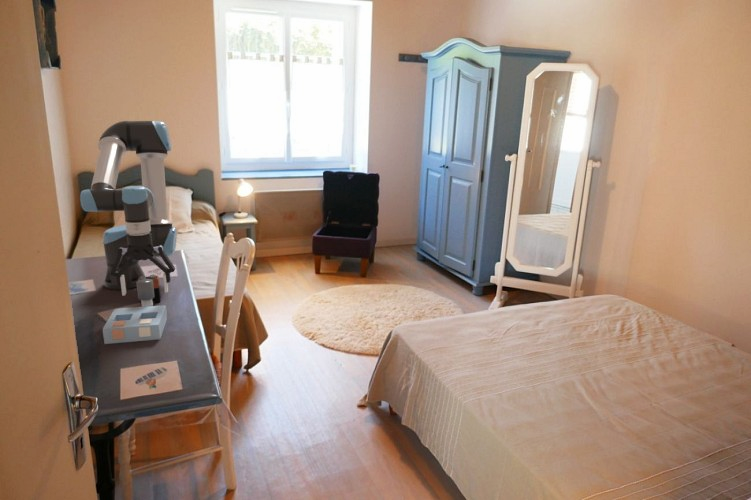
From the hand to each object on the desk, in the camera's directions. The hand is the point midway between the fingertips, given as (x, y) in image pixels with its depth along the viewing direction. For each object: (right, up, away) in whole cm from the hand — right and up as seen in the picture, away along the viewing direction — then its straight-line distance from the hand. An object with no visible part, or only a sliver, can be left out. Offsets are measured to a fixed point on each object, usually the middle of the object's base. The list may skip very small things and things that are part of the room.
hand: (145, 292), depth 179 cm
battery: (-4, -4, +14) cm, 15 cm away
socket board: (+2, -11, -11) cm, 16 cm away
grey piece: (0, -8, +3) cm, 8 cm away
